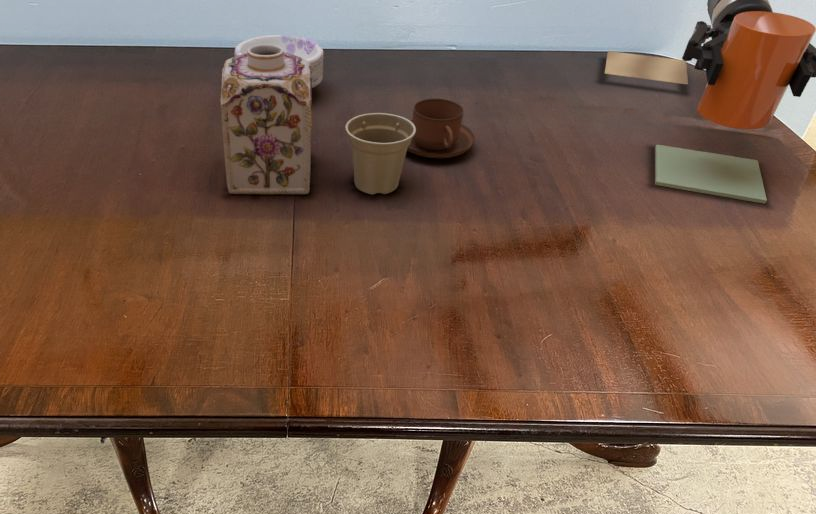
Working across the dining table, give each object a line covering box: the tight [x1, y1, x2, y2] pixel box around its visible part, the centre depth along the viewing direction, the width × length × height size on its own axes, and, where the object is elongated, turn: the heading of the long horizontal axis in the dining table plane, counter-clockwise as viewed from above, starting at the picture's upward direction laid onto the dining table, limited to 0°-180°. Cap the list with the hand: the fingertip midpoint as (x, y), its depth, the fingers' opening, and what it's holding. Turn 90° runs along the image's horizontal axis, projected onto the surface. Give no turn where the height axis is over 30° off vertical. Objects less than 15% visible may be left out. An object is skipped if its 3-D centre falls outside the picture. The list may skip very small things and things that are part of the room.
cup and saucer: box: [406, 98, 476, 159], centre depth 101 cm, size 12×12×6 cm
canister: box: [696, 11, 816, 130], centre depth 87 cm, size 9×9×12 cm
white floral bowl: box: [233, 34, 325, 89], centre depth 116 cm, size 15×15×8 cm
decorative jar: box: [218, 44, 314, 195], centre depth 91 cm, size 12×12×18 cm
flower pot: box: [344, 112, 416, 195], centre depth 92 cm, size 9×9×9 cm
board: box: [604, 50, 689, 85], centre depth 124 cm, size 14×12×2 cm
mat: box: [654, 144, 768, 205], centre depth 97 cm, size 14×12×1 cm
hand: (758, 80), depth 83 cm, fingers closed on canister, 9 cm apart
